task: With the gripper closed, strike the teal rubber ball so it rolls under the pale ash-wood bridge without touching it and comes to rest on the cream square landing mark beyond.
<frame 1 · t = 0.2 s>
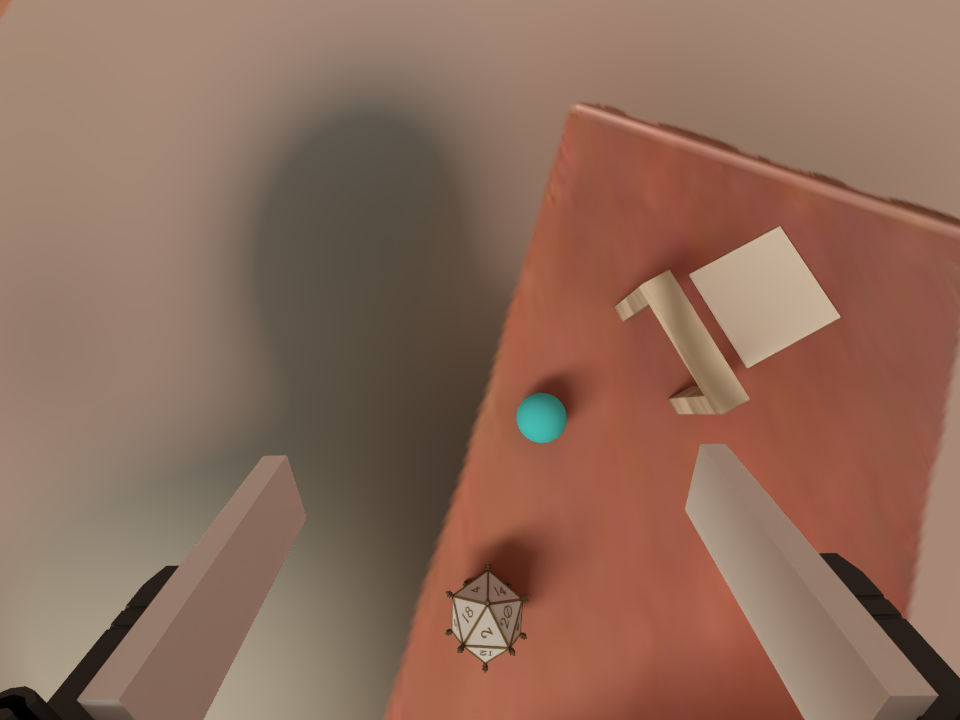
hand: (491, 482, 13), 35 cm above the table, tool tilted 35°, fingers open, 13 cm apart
bridge: (656, 353, 48), on the table
landing mark: (763, 295, 49), on the table
game die: (486, 596, 45), on the table
ball: (541, 417, 45), on the table
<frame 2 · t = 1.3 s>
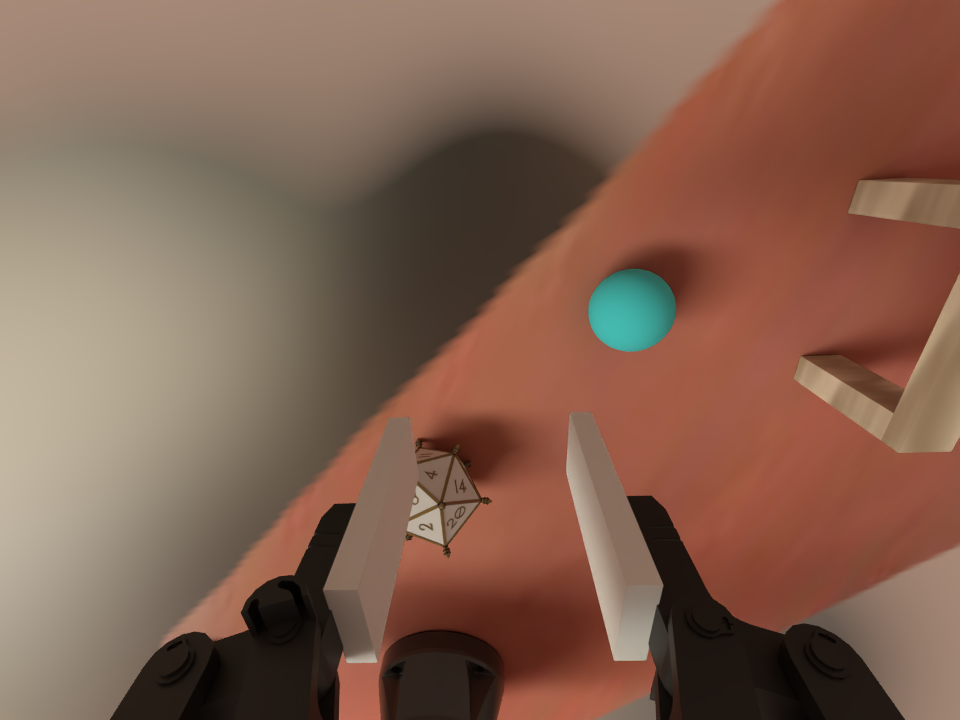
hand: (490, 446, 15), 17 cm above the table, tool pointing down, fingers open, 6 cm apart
bridge: (844, 289, 29), on the table
game die: (437, 460, 37), on the table
ball: (630, 310, 27), on the table
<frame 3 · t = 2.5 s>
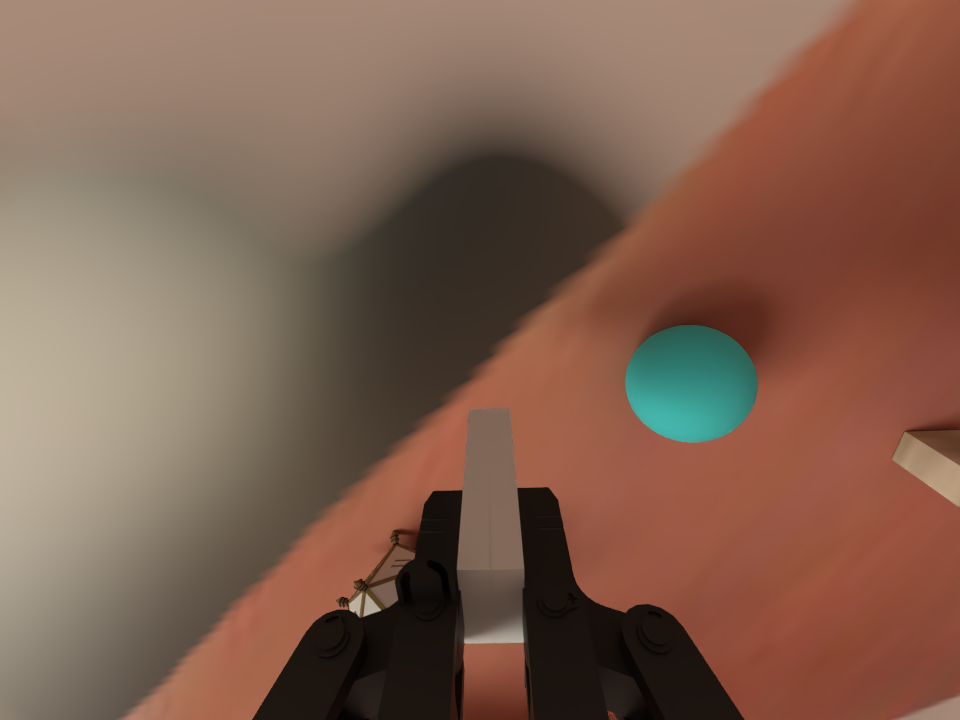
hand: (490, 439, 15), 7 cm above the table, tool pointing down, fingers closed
game die: (420, 554, 29), on the table
ball: (687, 383, 19), on the table
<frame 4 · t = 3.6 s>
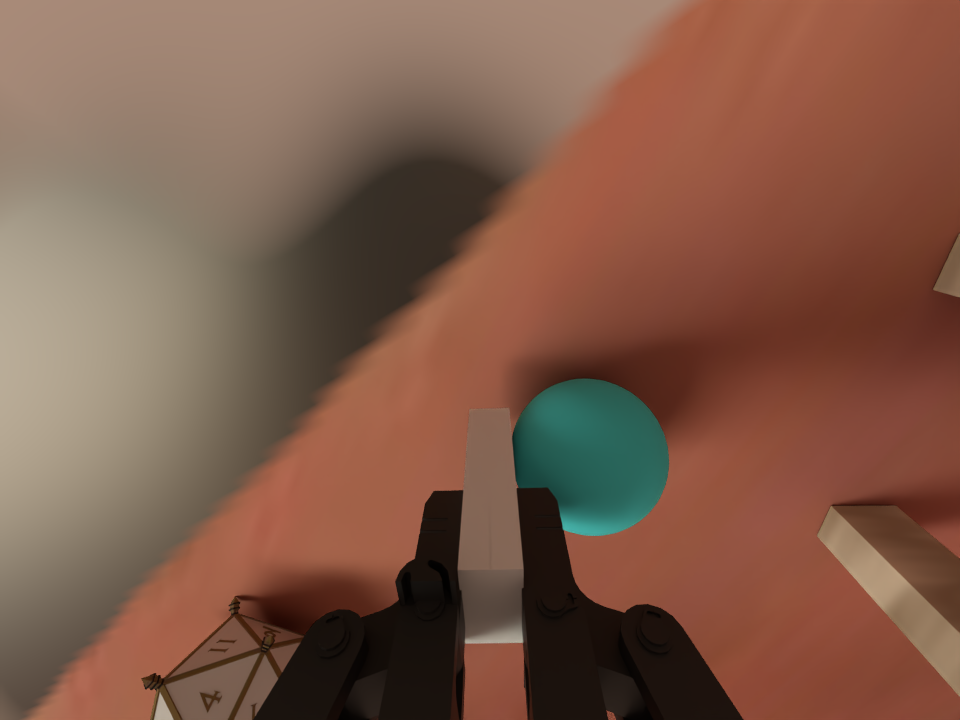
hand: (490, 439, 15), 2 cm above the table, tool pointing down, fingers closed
bridge: (911, 411, 17), on the table
game die: (274, 621, 24), on the table
ball: (585, 453, 15), on the table
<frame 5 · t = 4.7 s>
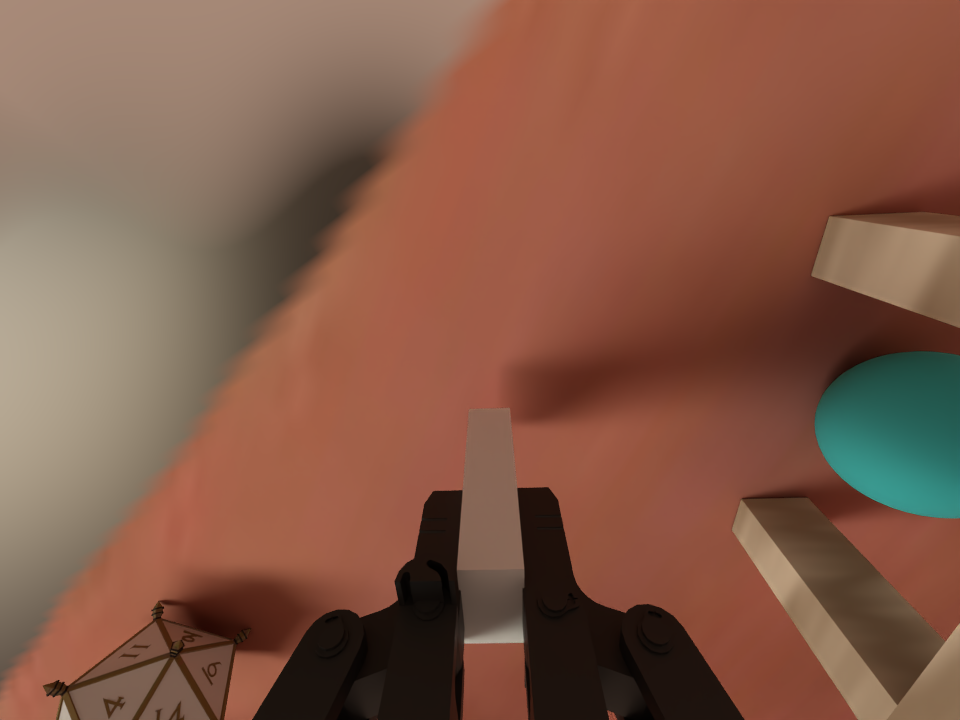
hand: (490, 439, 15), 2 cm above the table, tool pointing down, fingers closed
bridge: (809, 401, 17), on the table
game die: (203, 625, 24), on the table
ball: (918, 431, 14), on the table
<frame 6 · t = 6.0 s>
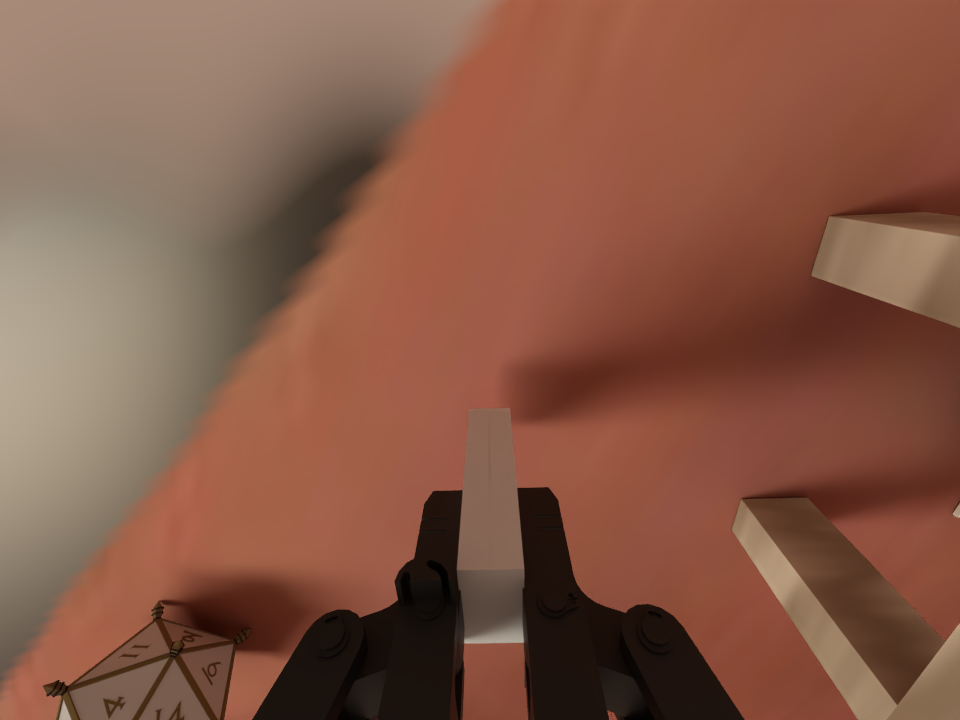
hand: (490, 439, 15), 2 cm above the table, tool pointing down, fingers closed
bridge: (808, 401, 17), on the table
game die: (203, 625, 24), on the table
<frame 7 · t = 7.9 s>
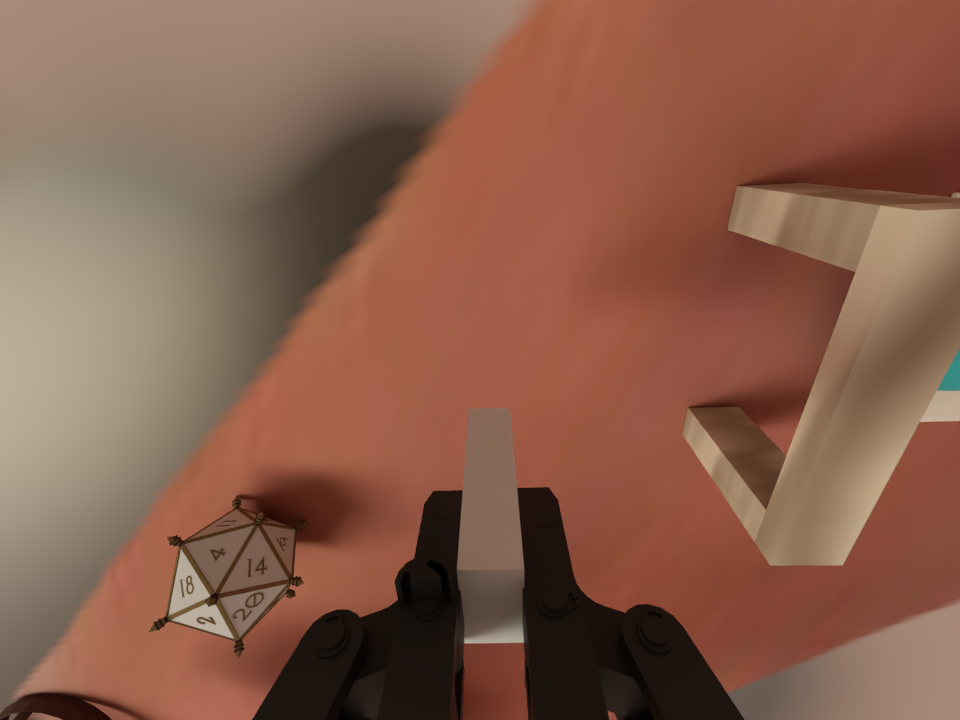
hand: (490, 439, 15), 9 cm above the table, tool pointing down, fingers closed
bridge: (733, 327, 22), on the table
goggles: (78, 716, 47), on the table
game die: (268, 519, 31), on the table
ball: (944, 332, 19), on the table
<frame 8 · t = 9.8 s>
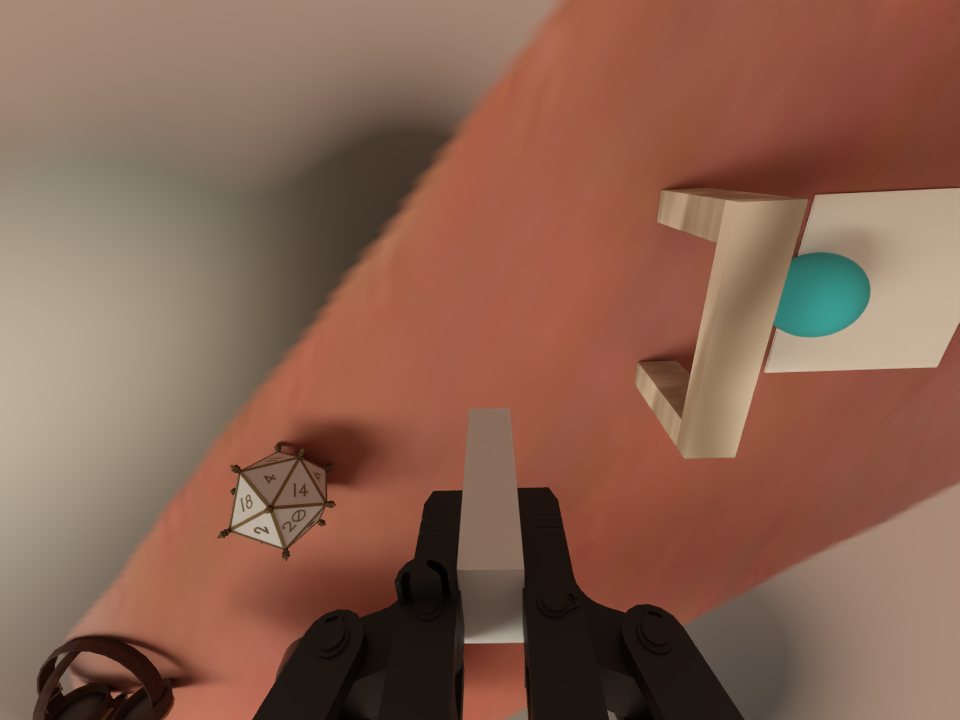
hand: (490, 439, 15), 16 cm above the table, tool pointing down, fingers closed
bridge: (667, 296, 30), on the table
landing mark: (880, 287, 29), on the table
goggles: (116, 661, 53), on the table
game die: (302, 463, 37), on the table
ball: (812, 295, 27), on the table
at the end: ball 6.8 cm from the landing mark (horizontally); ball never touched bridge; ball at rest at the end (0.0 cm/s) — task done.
